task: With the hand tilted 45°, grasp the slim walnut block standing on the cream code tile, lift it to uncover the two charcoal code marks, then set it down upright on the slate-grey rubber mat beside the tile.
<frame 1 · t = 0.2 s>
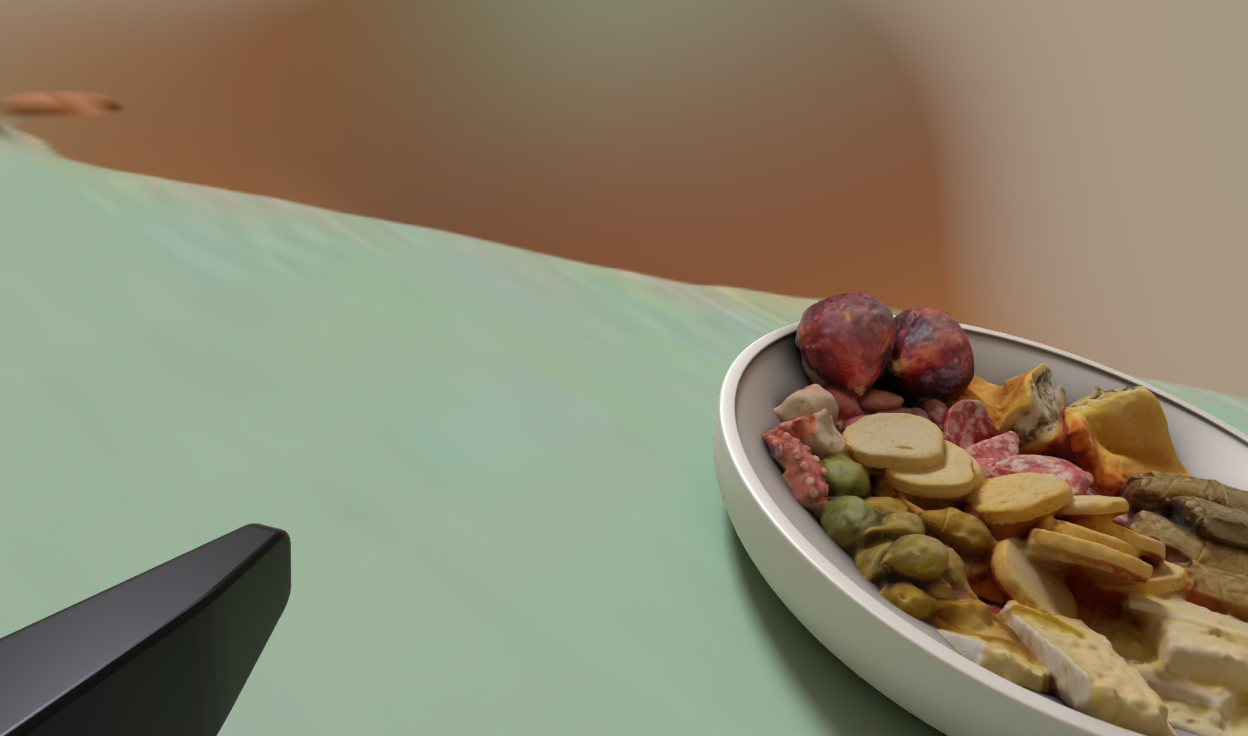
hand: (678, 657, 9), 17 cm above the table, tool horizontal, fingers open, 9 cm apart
bowl: (1006, 557, 40), on the table
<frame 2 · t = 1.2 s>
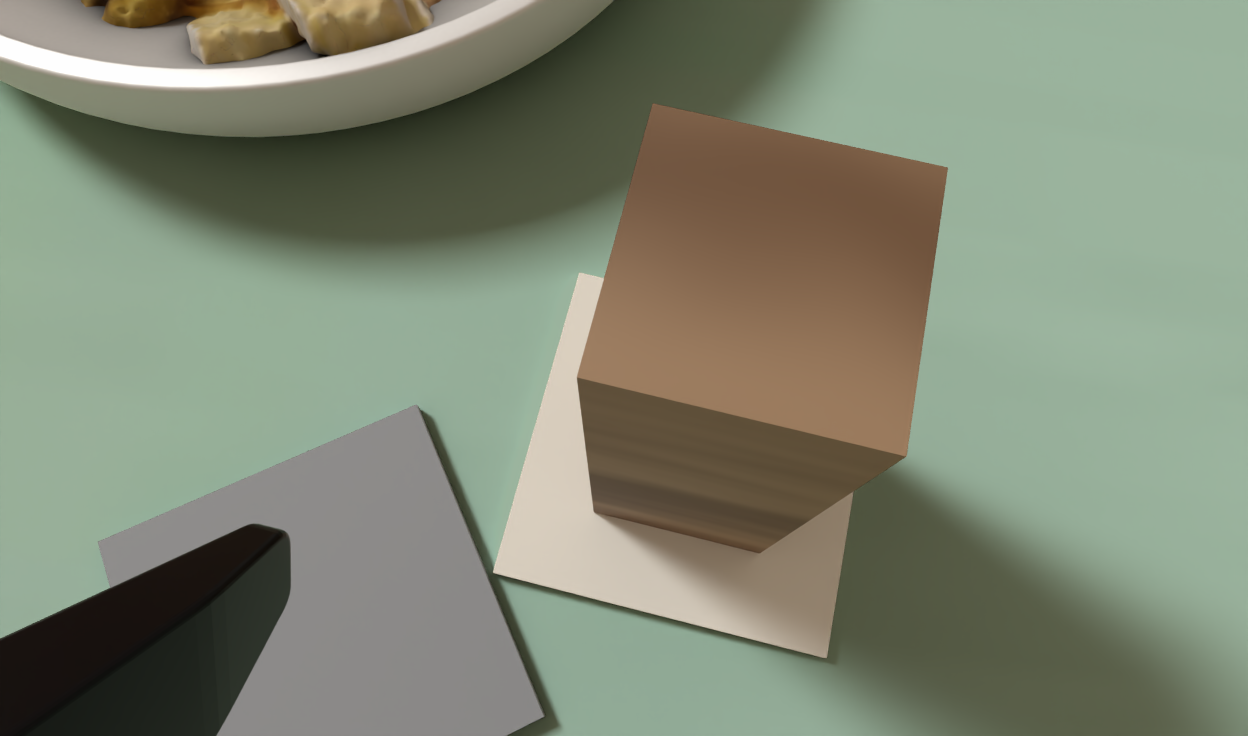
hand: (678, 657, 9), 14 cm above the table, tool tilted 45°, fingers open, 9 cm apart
walnut block: (694, 451, 24), resting on code tile
code tile: (693, 454, 24), on the table
rest mat: (319, 627, 22), on the table
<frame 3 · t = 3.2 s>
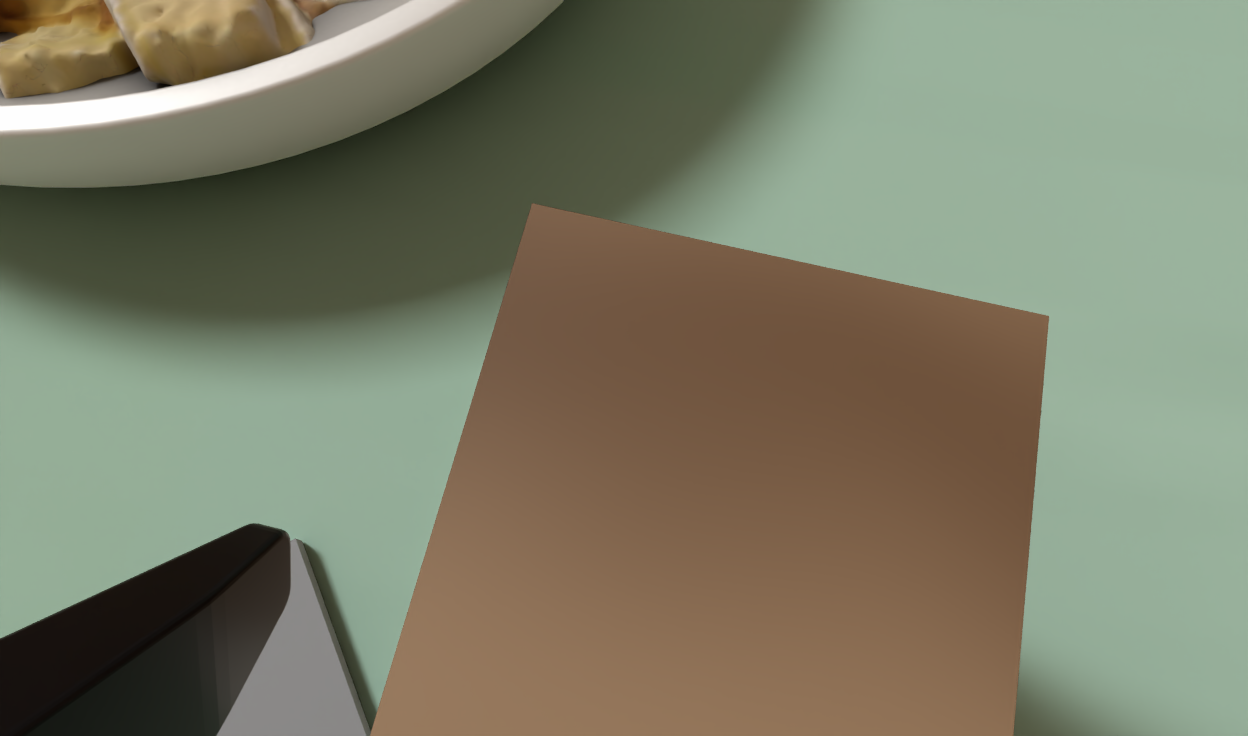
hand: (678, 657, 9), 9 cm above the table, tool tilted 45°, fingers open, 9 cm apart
walnut block: (658, 598, 18), resting on code tile
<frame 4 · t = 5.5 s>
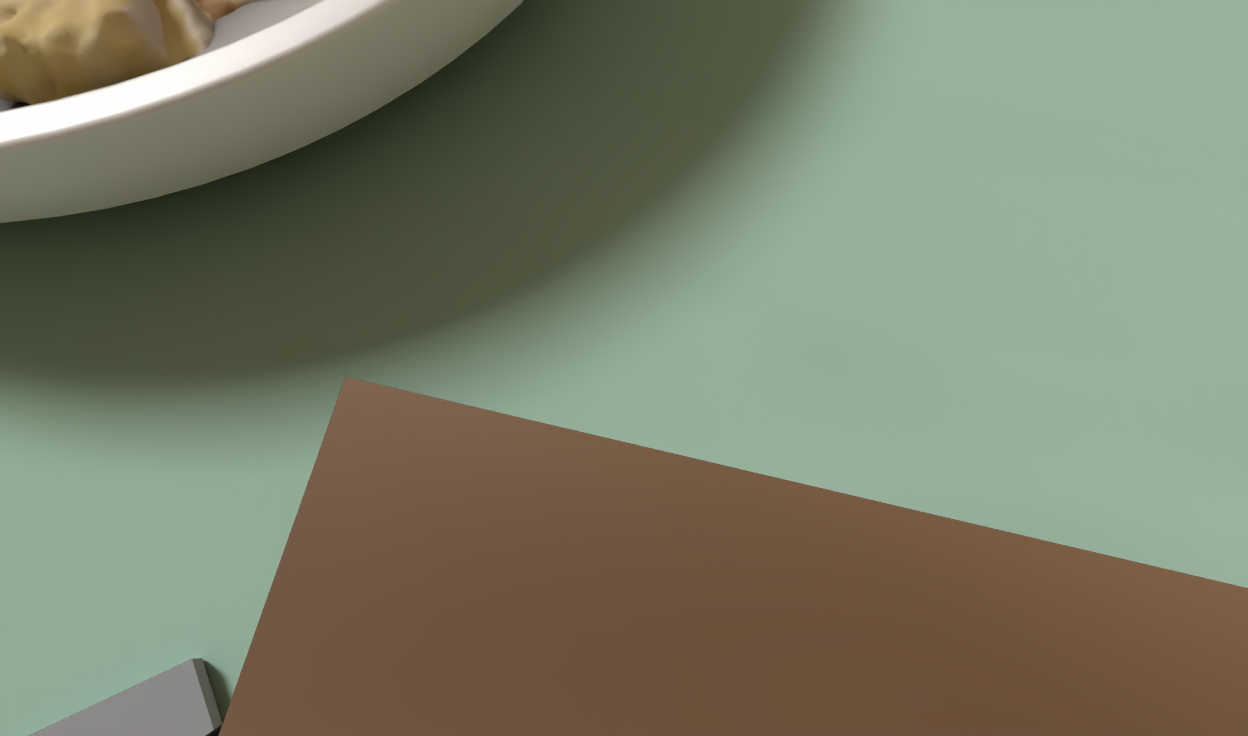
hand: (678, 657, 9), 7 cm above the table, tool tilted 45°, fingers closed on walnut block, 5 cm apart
walnut block: (634, 733, 15), resting on code tile, touching gripper
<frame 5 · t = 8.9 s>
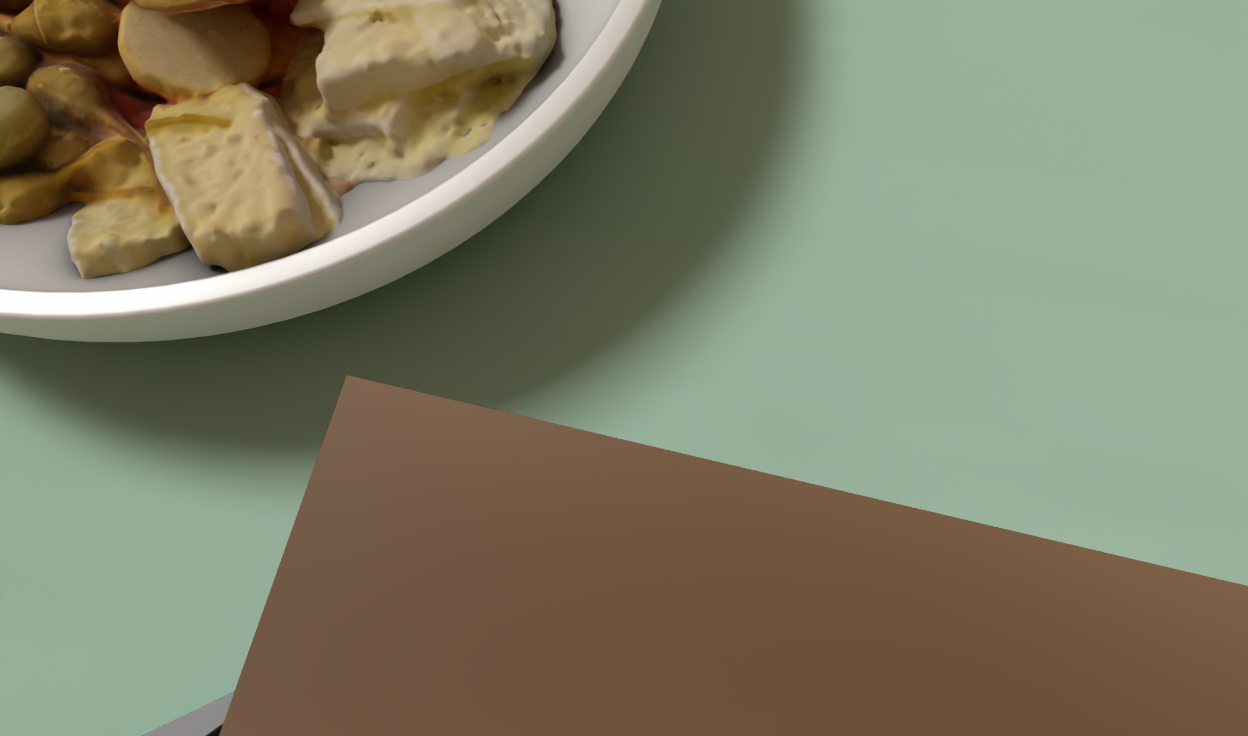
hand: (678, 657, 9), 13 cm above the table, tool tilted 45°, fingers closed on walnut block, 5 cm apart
walnut block: (635, 733, 15), point 7 cm above the table, touching gripper
when the fingers open (8 cm above the table, at t = 12.7 s): walnut block stays where it is, resting on rest mat.
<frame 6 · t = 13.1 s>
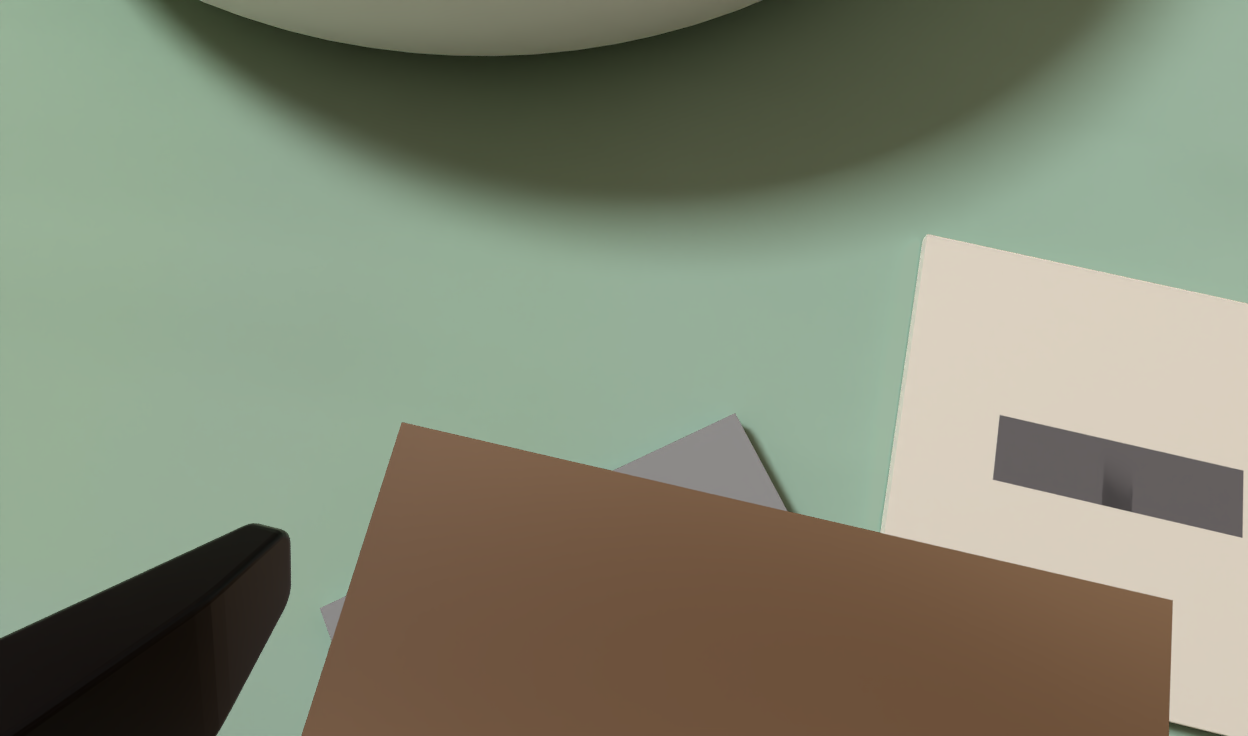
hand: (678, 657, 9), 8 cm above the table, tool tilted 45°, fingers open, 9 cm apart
walnut block: (636, 726, 16), resting on rest mat
code tile: (1110, 477, 18), on the table
rest mat: (633, 725, 16), on the table
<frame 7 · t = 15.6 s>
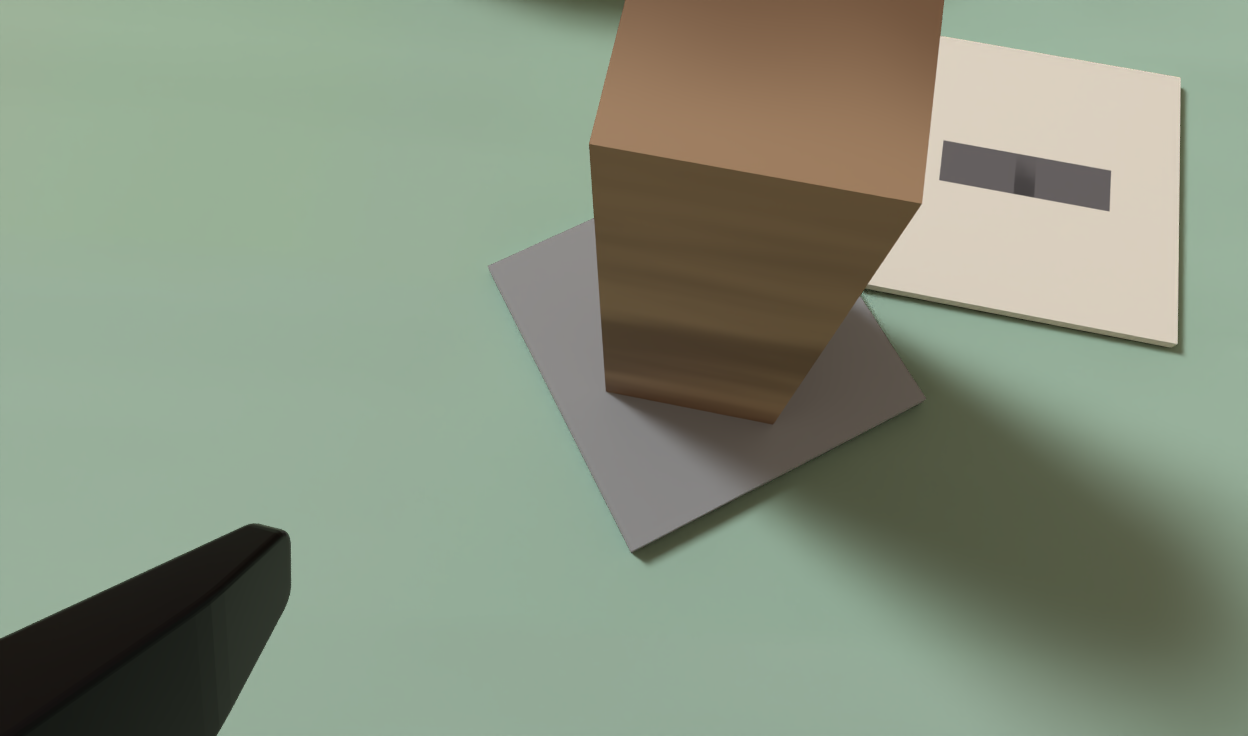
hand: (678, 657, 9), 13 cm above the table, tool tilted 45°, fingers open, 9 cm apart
walnut block: (703, 330, 24), resting on rest mat
code tile: (1020, 180, 26), on the table
rest mat: (700, 335, 24), on the table
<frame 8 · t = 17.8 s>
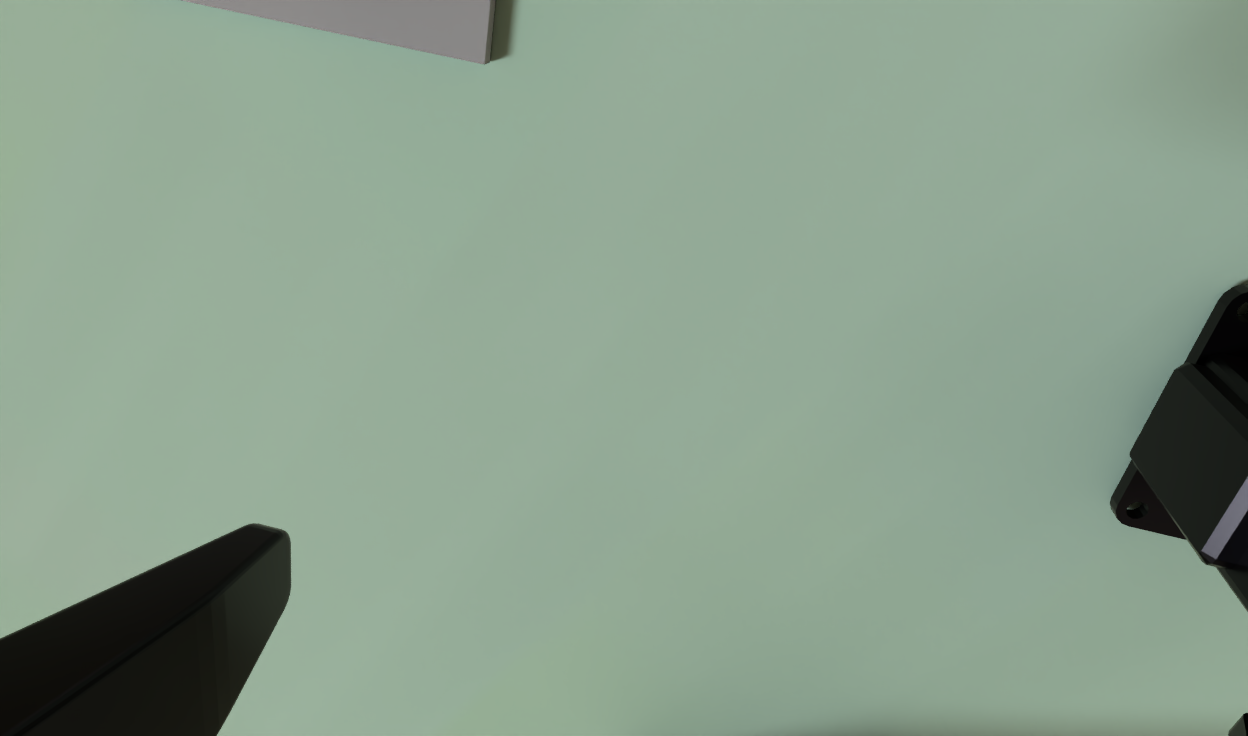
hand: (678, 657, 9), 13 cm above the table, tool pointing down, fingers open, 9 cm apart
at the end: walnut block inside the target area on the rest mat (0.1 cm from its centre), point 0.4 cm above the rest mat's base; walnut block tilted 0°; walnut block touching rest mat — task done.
